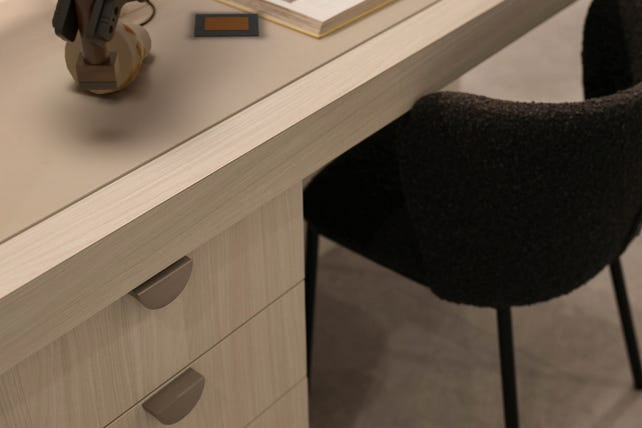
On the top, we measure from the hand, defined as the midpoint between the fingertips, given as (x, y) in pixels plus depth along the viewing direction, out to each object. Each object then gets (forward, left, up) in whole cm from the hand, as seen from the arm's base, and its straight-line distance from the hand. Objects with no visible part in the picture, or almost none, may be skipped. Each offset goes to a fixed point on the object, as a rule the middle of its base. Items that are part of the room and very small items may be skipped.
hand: (78, 40), depth 70 cm
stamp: (+1, +2, -5) cm, 5 cm away
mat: (+11, +24, -11) cm, 29 cm away
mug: (0, +14, -11) cm, 17 cm away
